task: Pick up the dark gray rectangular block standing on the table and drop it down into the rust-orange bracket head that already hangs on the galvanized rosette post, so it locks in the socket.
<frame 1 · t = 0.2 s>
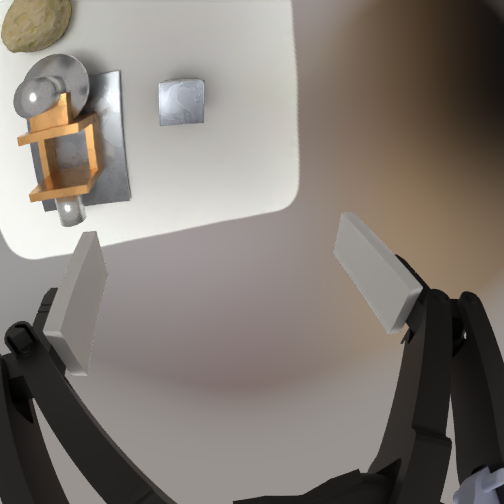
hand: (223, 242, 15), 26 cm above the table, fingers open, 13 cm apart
dark gray rectangular block: (182, 93, 33), on the table
decorative object: (46, 21, 21), on the table
rosette bracket: (76, 143, 33), on the table
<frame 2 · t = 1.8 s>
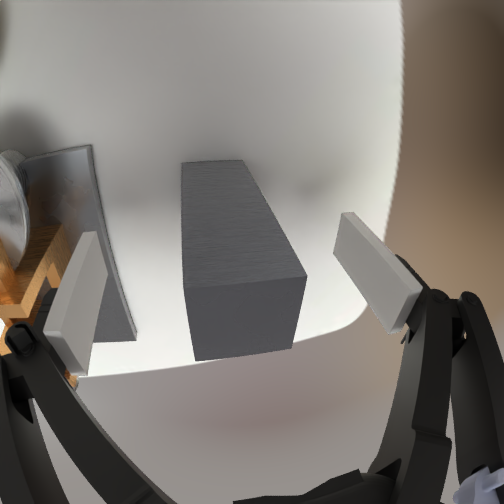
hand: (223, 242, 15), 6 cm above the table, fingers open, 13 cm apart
dark gray rectangular block: (212, 188, 20), on the table
rosette bracket: (40, 264, 20), on the table
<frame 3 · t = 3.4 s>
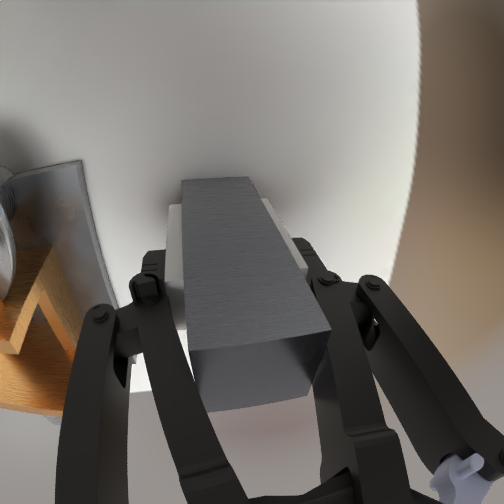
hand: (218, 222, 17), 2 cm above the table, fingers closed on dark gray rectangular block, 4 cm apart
dark gray rectangular block: (215, 208, 18), on the table, touching gripper
rosette bracket: (32, 286, 18), on the table
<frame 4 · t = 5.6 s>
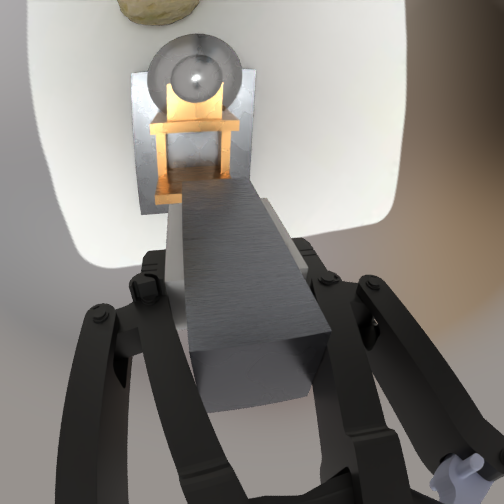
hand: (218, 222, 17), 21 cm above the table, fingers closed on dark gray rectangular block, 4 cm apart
dark gray rectangular block: (215, 209, 18), point 19 cm above the table, touching gripper
rosette bracket: (192, 141, 33), on the table
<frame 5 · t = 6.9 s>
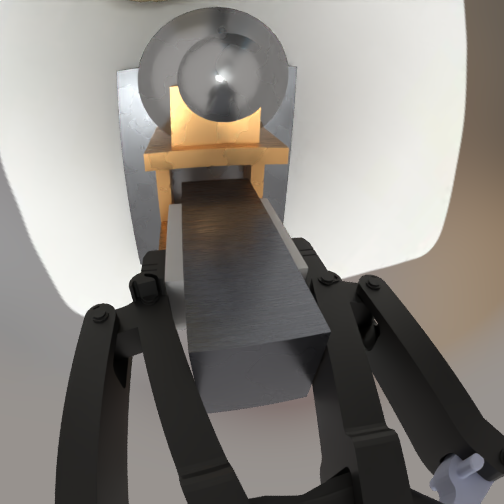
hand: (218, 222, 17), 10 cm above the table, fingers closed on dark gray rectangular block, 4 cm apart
dark gray rectangular block: (215, 209, 18), point 8 cm above the table, touching gripper
rosette bracket: (207, 166, 25), on the table
when the fingers open (5 cm above the table, at t = 8.1 s): dark gray rectangular block drops 3 cm, resting on rosette bracket.
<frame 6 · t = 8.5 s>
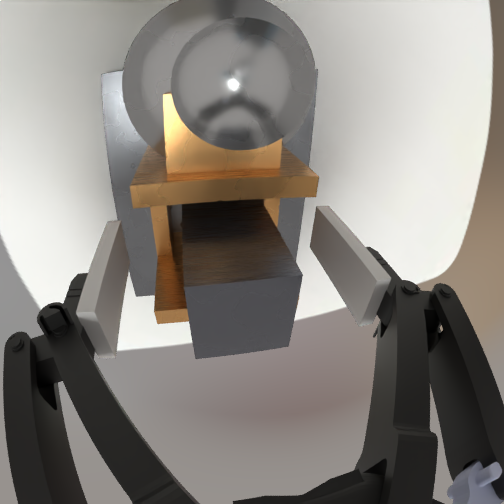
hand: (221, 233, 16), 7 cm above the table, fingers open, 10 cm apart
dark gray rectangular block: (212, 192, 21), point 1 cm above the table, touching rosette bracket
rosette bracket: (210, 187, 21), on the table
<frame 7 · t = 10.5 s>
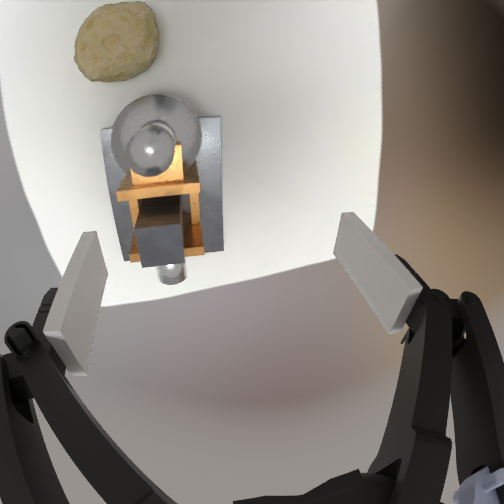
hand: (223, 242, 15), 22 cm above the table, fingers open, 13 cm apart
dark gray rectangular block: (165, 194, 35), point 1 cm above the table, touching rosette bracket
decorative object: (123, 45, 25), on the table
rosette bracket: (165, 191, 36), on the table
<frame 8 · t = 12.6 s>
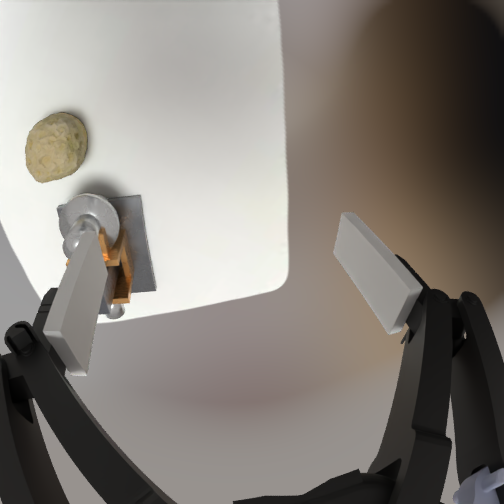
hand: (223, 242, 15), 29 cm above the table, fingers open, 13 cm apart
dark gray rectangular block: (107, 252, 45), point 1 cm above the table, touching rosette bracket
decorative object: (64, 141, 34), on the table
rosette bracket: (108, 249, 45), on the table
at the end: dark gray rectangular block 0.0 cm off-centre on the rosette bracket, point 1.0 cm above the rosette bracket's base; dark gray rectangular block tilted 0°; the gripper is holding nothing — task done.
